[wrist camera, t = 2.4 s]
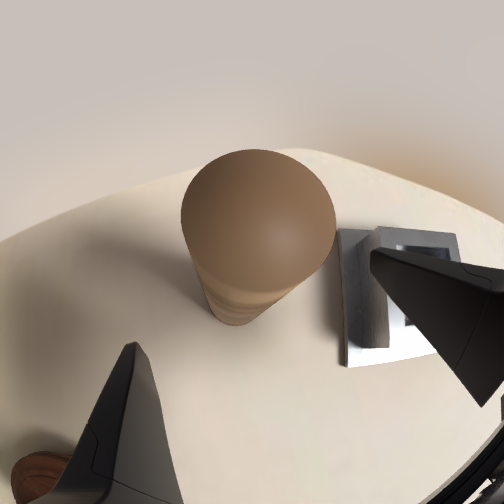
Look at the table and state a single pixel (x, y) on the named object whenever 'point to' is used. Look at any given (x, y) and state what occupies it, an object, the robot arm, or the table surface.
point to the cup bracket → (382, 294)
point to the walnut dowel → (255, 230)
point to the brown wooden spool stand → (37, 475)
